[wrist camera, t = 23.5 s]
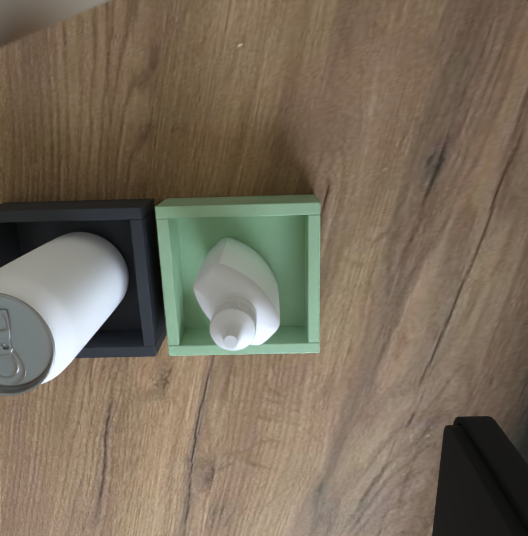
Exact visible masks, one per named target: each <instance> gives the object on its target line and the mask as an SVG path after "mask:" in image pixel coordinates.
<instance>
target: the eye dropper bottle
mask: <svg viewBox="0 0 528 536" xmlns="http://www.w3.org/2000/svg"><path fill="white" fill-rule="evenodd" d="M193 289H194V293H195V296H196V298H197V301H198V303H199V305H200V307H201V308H202V310H203V312H204V313H205V314H206V316H207V317H208V318H209V320H210V321H211V322H210V334H211V337H212V339H213V341H214V342H215V343H216V344H217V345H218V346H219V347H221V348H223V349H225V350H230V351H231V350H232V351H236V350H237V351H238V350H240V349H243V348H245V347H246V346H248V345H260V344H262V343H264V342H265V341H266V340H267V339H269V338H270V337H271V336H272V335H273V334H274V333H275V332H276V331H277V329H278V327H279V325H280V307H279V289H278V283H277V280H276V278H275V275H274V273H273V272H272V270H271V268H270V267H269V265H268V264H267V263H266V261H265V260H264V259H263V258H262V257H261V256H260V255H259V254H258V253H257V252H256V251H255V250H253V249H252V248H251V247H249V246H247V245H246V244H244V243H242V242H240V241H238V240H236V239H233V238H230V237H224V238H222V239H220V240H219V241H218V242H217V243H216V244H215V245H214V246H213V247H212V248H211V249H210V250H209V252H208V253H207V255H206V257H205V259H204V261H203V264H202V266H201V268H200V270H199V272H198V274H197V277H196V279H195V281H194V284H193Z"/></svg>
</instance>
